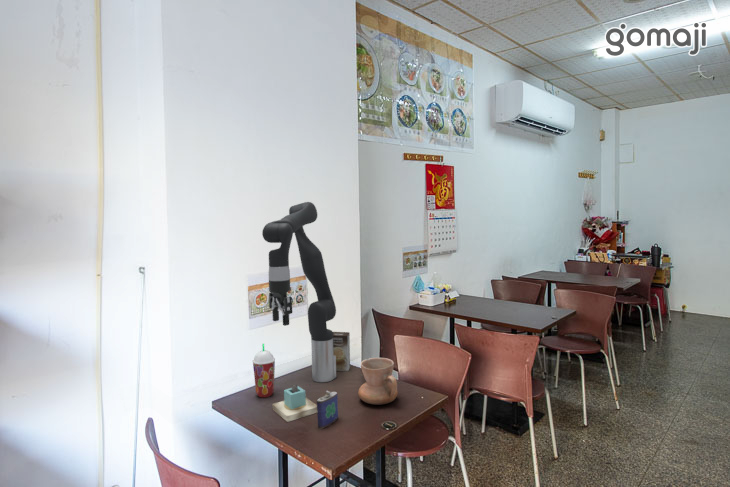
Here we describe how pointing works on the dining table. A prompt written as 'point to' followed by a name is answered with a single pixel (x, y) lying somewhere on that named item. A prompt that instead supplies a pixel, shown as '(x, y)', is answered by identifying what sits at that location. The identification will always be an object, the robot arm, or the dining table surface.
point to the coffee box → (342, 350)
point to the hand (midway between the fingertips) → (280, 322)
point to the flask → (327, 409)
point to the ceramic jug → (378, 381)
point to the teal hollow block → (294, 398)
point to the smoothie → (264, 373)
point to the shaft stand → (296, 412)
